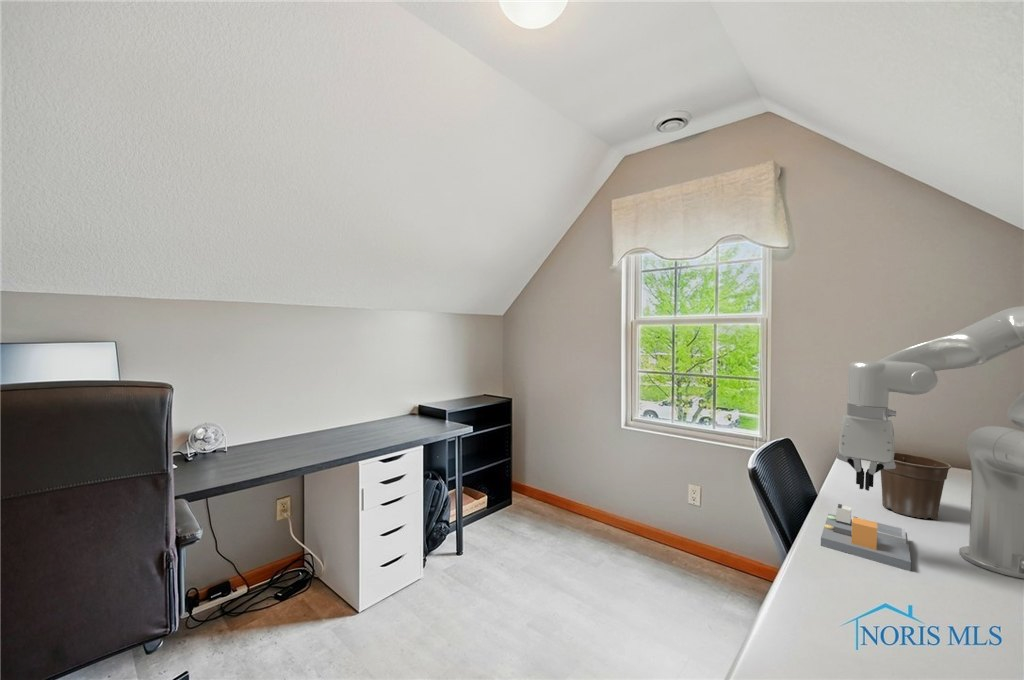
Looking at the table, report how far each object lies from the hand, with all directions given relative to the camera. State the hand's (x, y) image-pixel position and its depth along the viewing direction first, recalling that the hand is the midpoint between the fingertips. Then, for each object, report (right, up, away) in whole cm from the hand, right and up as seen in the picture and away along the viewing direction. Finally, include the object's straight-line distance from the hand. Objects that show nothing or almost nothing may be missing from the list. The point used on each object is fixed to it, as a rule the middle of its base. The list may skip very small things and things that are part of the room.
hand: (864, 488), depth 101 cm
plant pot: (+35, -16, +26) cm, 47 cm away
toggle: (+4, -13, +11) cm, 18 cm away
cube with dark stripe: (+1, -13, +3) cm, 13 cm away
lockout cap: (-1, -13, -1) cm, 13 cm away
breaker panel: (+3, -15, +4) cm, 16 cm away
